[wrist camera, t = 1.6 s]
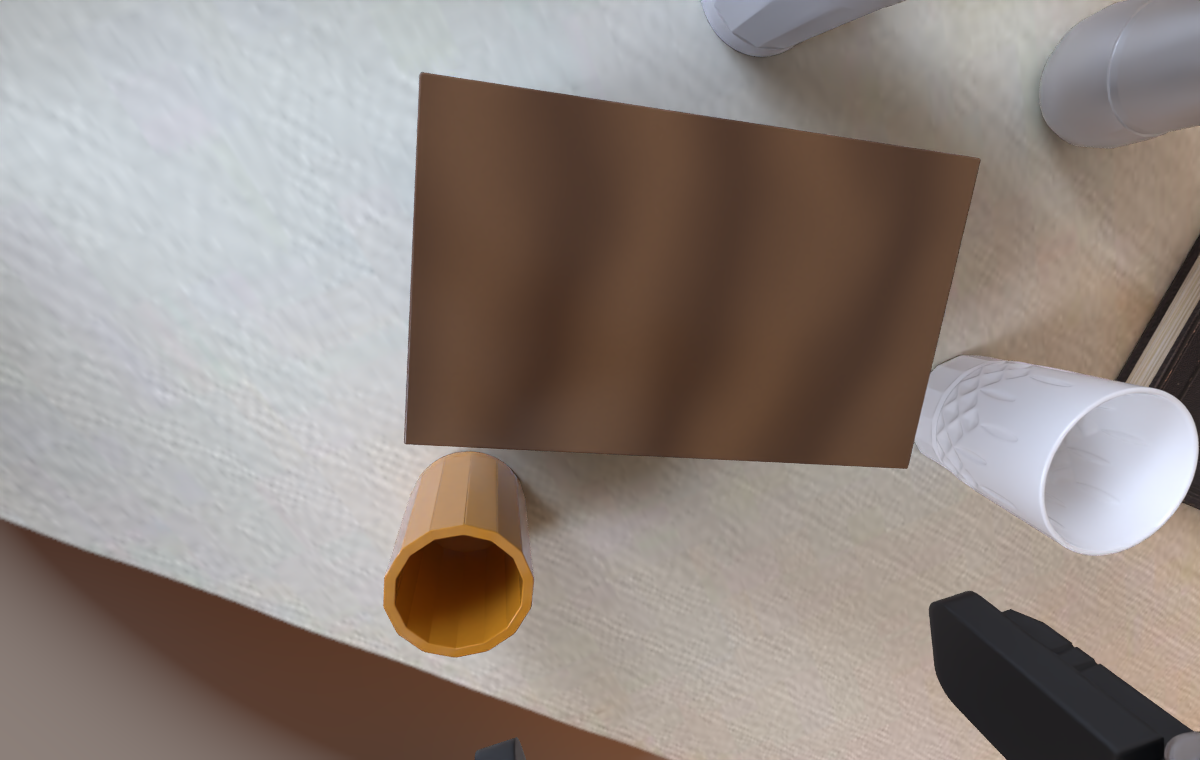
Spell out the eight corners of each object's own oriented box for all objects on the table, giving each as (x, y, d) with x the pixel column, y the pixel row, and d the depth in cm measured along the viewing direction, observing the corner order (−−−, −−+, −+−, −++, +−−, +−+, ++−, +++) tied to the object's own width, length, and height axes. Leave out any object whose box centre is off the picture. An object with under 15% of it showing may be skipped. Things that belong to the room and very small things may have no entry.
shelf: (437, 363, 31) (403, 445, 20) (449, 131, 29) (419, 71, 17) (771, 387, 35) (908, 469, 23) (808, 181, 32) (982, 157, 21)
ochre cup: (408, 553, 34) (381, 658, 25) (413, 447, 32) (386, 522, 24) (519, 555, 35) (526, 657, 26) (528, 452, 33) (539, 526, 25)
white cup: (949, 496, 38) (1100, 587, 29) (872, 417, 36) (1007, 487, 27) (1042, 402, 38) (1228, 463, 28) (970, 315, 36) (1144, 349, 26)
